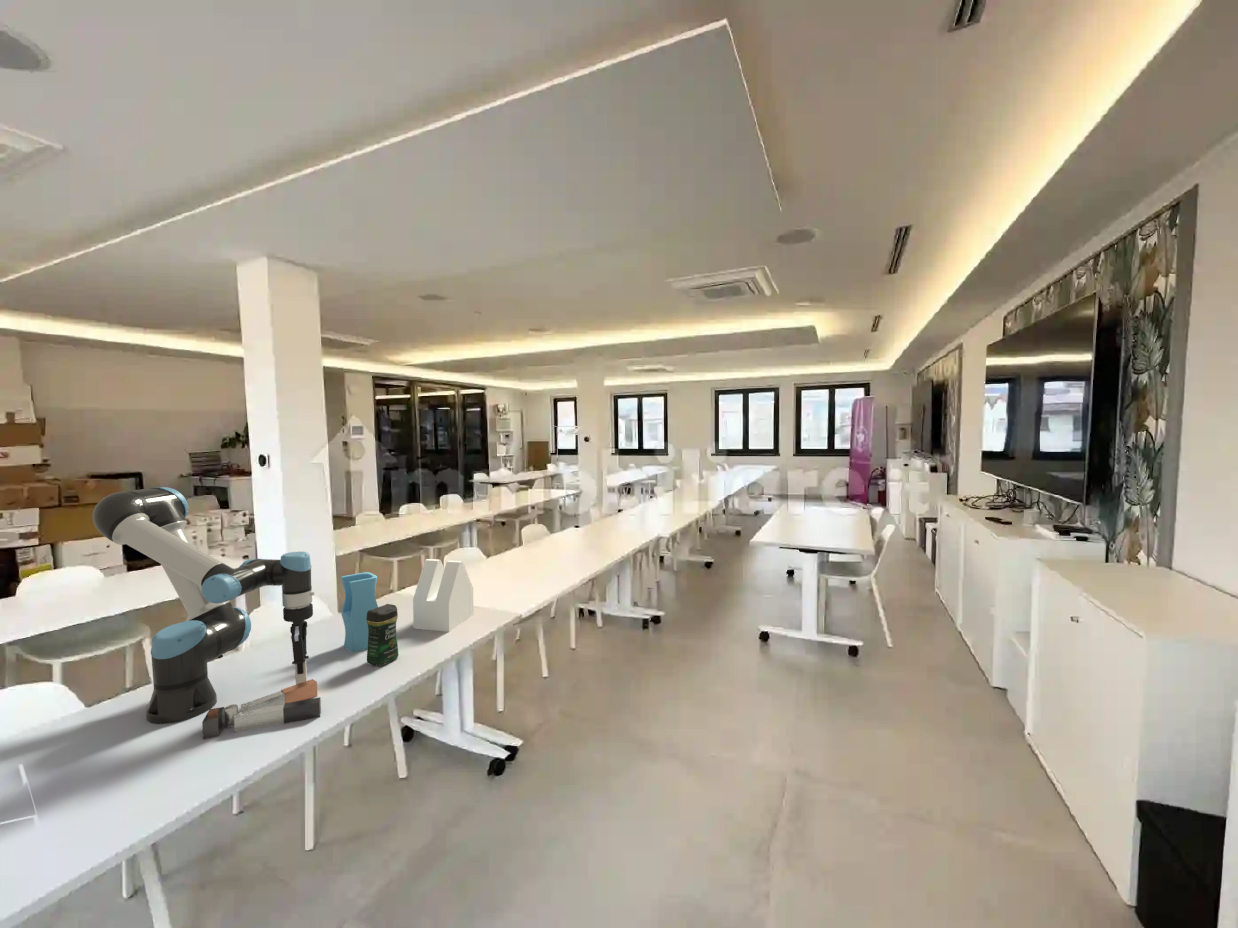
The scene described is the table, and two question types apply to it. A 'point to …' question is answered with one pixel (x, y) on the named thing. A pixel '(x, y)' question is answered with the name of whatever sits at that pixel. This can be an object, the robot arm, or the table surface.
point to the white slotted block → (442, 596)
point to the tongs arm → (274, 700)
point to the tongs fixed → (261, 716)
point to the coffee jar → (382, 635)
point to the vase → (358, 608)
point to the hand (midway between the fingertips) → (301, 682)
